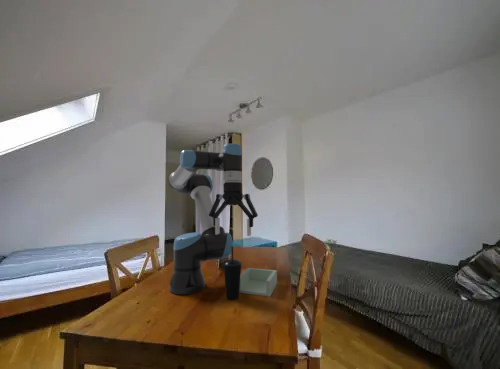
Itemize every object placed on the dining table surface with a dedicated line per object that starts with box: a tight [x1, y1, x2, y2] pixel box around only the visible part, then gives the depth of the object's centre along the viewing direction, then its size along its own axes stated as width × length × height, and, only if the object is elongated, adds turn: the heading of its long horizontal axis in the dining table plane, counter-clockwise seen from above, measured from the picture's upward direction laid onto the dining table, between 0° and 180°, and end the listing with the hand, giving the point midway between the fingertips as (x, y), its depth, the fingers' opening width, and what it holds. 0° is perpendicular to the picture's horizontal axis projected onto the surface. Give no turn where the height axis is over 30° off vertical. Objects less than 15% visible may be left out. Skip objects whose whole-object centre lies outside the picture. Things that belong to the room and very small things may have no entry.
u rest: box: [239, 267, 278, 297], centre depth 101 cm, size 14×14×6 cm
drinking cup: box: [222, 245, 243, 301], centre depth 92 cm, size 8×8×20 cm
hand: (233, 234), depth 94 cm, fingers open, 13 cm apart
